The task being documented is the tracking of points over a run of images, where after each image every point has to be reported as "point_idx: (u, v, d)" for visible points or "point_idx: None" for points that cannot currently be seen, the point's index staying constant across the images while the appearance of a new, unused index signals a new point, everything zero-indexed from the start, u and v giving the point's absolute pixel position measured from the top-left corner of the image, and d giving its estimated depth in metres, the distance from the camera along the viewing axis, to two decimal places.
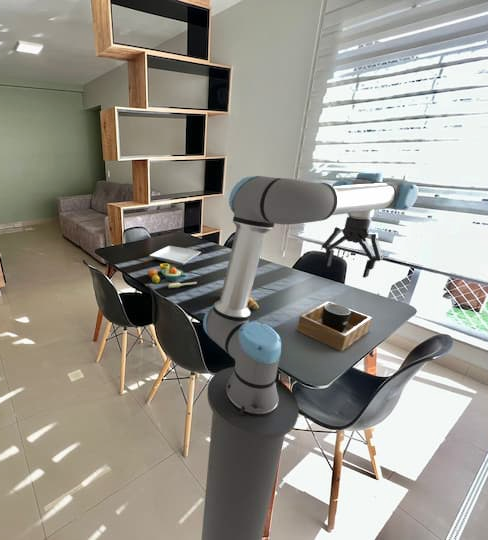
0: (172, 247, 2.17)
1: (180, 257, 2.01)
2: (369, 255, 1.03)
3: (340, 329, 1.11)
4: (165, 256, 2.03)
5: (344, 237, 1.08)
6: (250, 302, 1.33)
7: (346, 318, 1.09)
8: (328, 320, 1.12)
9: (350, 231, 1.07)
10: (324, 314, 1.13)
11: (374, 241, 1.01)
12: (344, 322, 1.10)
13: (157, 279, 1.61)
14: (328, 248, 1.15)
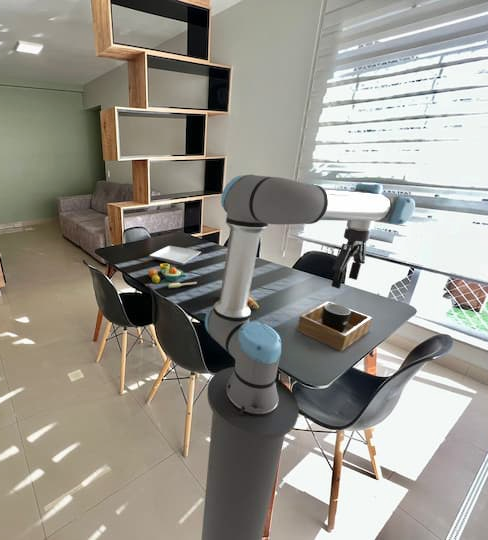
0: (172, 247, 2.17)
1: (180, 257, 2.01)
2: (361, 259, 1.09)
3: (340, 329, 1.11)
4: (165, 256, 2.03)
5: (354, 252, 1.02)
6: (250, 302, 1.33)
7: (346, 318, 1.09)
8: (328, 320, 1.12)
9: (356, 244, 1.03)
10: (324, 314, 1.13)
11: (365, 245, 1.08)
12: (344, 322, 1.10)
13: (157, 279, 1.61)
14: (342, 269, 1.02)
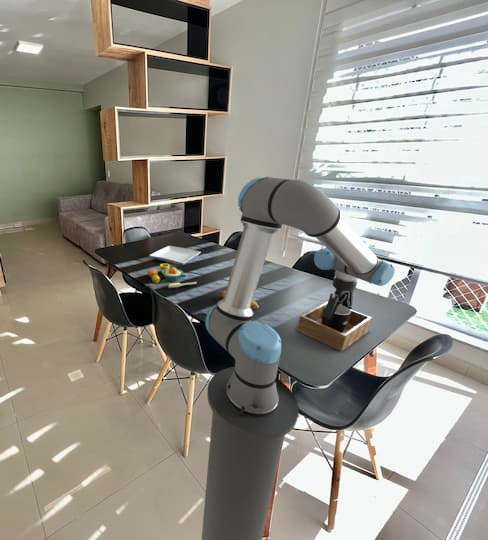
0: (172, 247, 2.17)
1: (180, 257, 2.01)
2: (348, 305, 1.16)
3: (340, 329, 1.11)
4: (165, 256, 2.03)
5: (342, 300, 1.09)
6: None
7: (346, 318, 1.09)
8: None
9: (344, 292, 1.09)
10: None
11: (352, 292, 1.14)
12: (344, 322, 1.10)
13: (157, 279, 1.61)
14: (331, 317, 1.09)
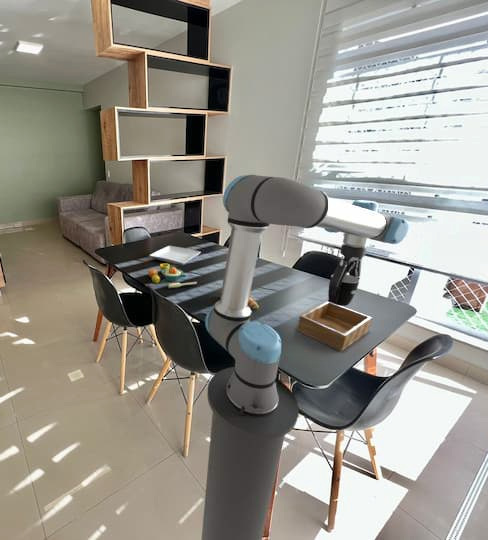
0: (172, 247, 2.17)
1: (180, 257, 2.01)
2: (356, 275, 1.11)
3: (348, 299, 1.06)
4: (165, 256, 2.03)
5: (350, 268, 1.04)
6: (250, 302, 1.33)
7: (354, 287, 1.04)
8: None
9: (352, 260, 1.04)
10: None
11: (360, 262, 1.09)
12: (352, 291, 1.05)
13: (157, 279, 1.61)
14: (339, 285, 1.04)
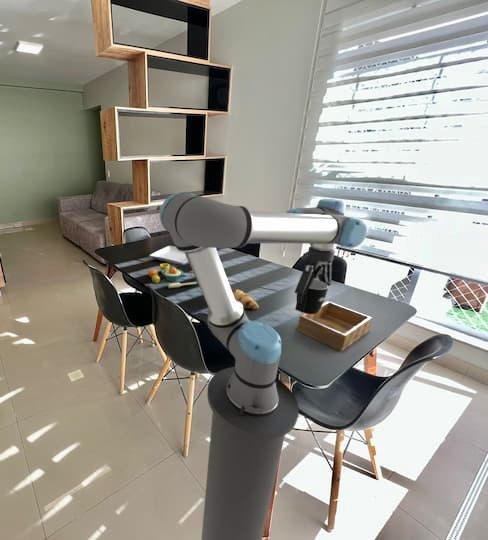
0: (172, 247, 2.17)
1: (180, 257, 2.01)
2: (326, 280, 1.02)
3: (316, 307, 0.97)
4: (165, 256, 2.03)
5: (318, 273, 0.95)
6: (250, 302, 1.33)
7: (322, 293, 0.95)
8: None
9: (320, 264, 0.95)
10: None
11: (330, 266, 1.00)
12: (320, 298, 0.95)
13: (157, 279, 1.61)
14: (306, 292, 0.95)
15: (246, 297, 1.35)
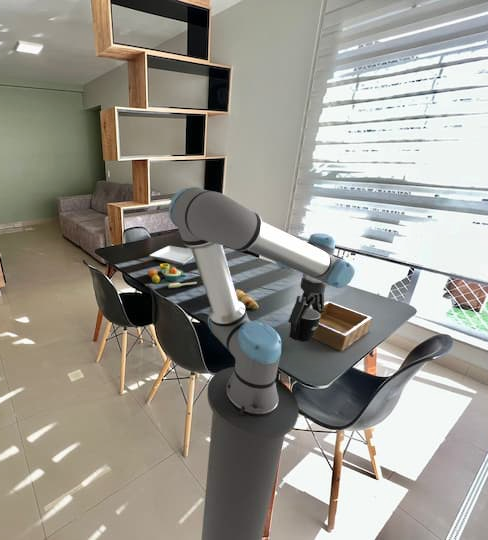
0: (172, 247, 2.17)
1: (180, 257, 2.01)
2: (319, 308, 1.05)
3: (309, 335, 1.01)
4: (165, 256, 2.03)
5: (310, 303, 0.99)
6: (250, 302, 1.33)
7: (315, 323, 0.99)
8: None
9: (312, 295, 0.99)
10: None
11: (323, 295, 1.04)
12: (313, 327, 0.99)
13: (157, 279, 1.61)
14: (299, 322, 0.99)
15: (246, 297, 1.35)
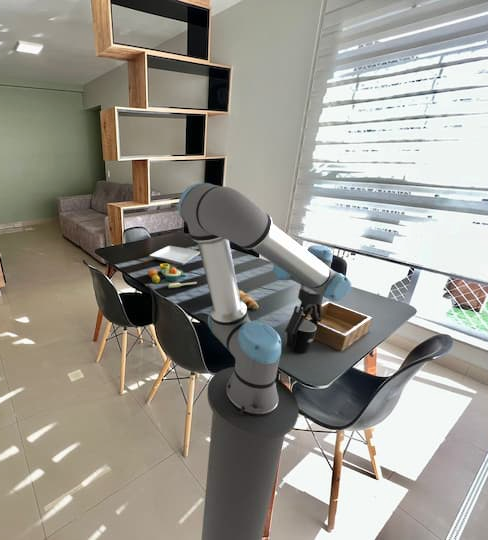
0: (172, 247, 2.17)
1: (180, 257, 2.01)
2: (317, 317, 1.07)
3: (305, 347, 1.02)
4: (165, 256, 2.03)
5: (308, 314, 1.00)
6: (250, 302, 1.33)
7: (311, 335, 1.00)
8: None
9: (309, 305, 1.00)
10: None
11: (321, 304, 1.05)
12: (309, 339, 1.01)
13: (157, 279, 1.61)
14: (295, 331, 1.00)
15: (246, 297, 1.35)
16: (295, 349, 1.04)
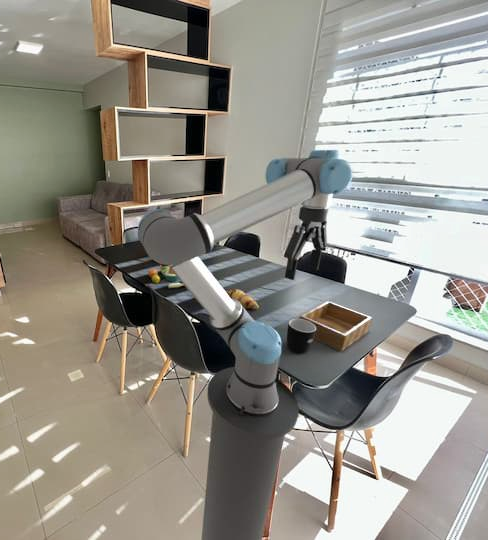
0: None
1: None
2: (321, 245, 0.91)
3: (305, 347, 1.02)
4: None
5: (310, 235, 0.85)
6: (250, 302, 1.33)
7: (311, 336, 1.00)
8: (292, 338, 1.03)
9: (312, 226, 0.85)
10: (288, 331, 1.04)
11: (325, 229, 0.90)
12: (309, 340, 1.01)
13: (157, 279, 1.61)
14: (296, 256, 0.85)
15: (246, 297, 1.35)
16: (295, 349, 1.04)
